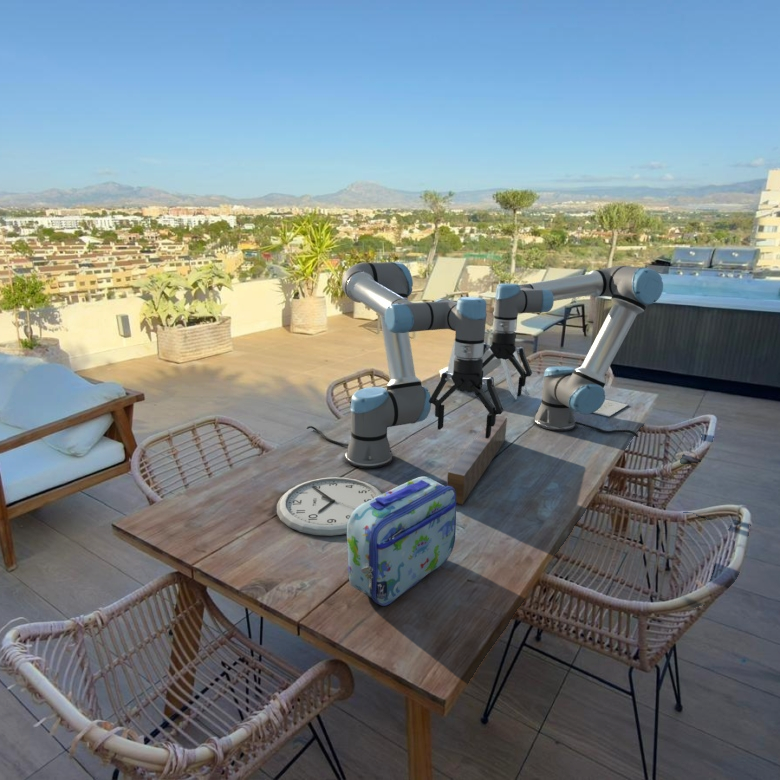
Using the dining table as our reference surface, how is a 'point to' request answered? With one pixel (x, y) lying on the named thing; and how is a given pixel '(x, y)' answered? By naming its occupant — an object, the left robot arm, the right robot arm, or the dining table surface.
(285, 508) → the wall clock
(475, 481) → the board
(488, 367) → the white plastic object
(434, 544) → the lunch box
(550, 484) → the dining table surface
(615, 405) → the invitation card
